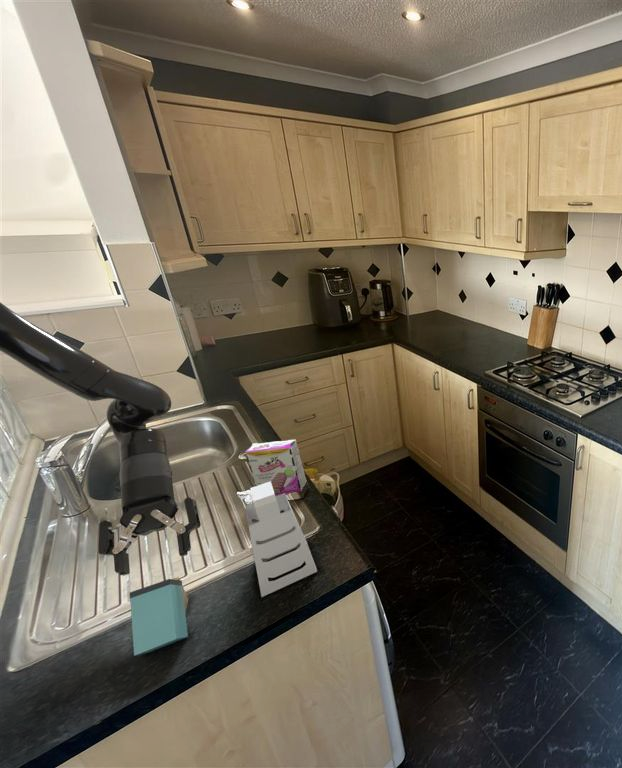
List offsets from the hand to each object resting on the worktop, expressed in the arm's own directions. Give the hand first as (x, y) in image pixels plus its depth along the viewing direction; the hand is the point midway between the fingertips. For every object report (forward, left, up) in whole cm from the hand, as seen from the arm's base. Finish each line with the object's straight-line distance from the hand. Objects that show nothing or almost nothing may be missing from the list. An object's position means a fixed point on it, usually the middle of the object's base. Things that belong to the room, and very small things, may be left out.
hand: (155, 564), depth 74 cm
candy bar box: (+20, +30, -12) cm, 38 cm away
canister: (0, -6, -12) cm, 13 cm away
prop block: (0, 0, -12) cm, 12 cm away
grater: (+19, +1, -12) cm, 22 cm away
